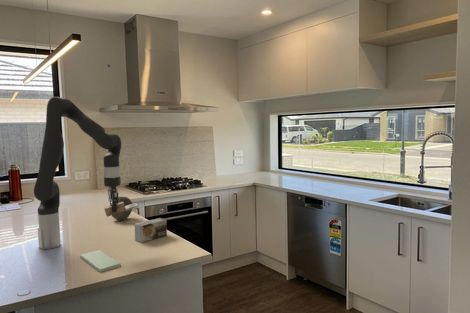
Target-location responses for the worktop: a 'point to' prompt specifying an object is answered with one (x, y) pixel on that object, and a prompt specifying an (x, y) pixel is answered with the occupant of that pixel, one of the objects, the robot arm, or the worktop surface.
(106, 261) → the board
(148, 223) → the coffee box
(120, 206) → the tall wooden post
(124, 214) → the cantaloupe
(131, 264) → the worktop surface
